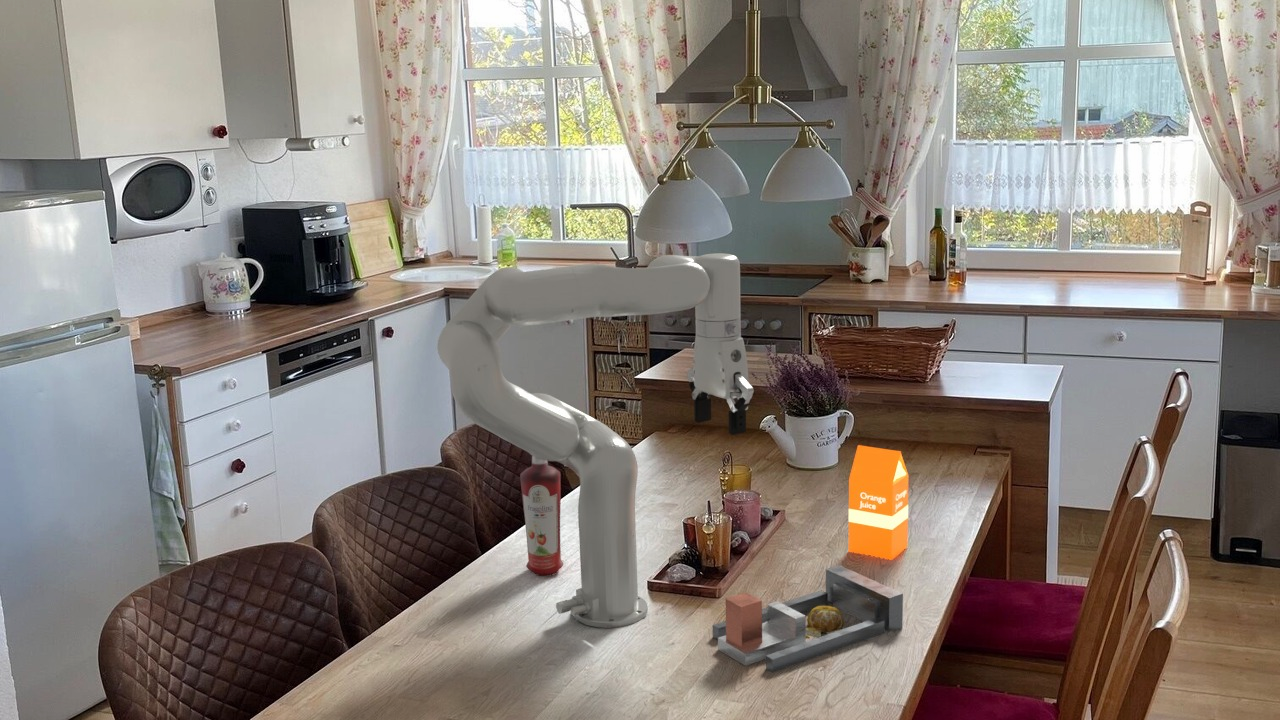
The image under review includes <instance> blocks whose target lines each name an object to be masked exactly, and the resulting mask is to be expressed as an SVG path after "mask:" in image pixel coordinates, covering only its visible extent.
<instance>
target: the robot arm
mask: <svg viewBox="0 0 1280 720" xmlns="http://www.w3.org/2000/svg"><path fill="white" fill-rule="evenodd" d="M740 264H741V262H740V260H739V258H738V257H737V256H736V255H734V254H730V253H723V252H722V253H706V254H702V255H698V256H697V255H696V256H695V255H679V254H678V255H677V254H665V255H660V256H659V257H656V258H655V259H653V260H652V261H651V262H650V263H649V264H648V265H647V267H634V268H633V267H620V266H619V267H618V266H611V265H605V264H599V263H598V264H597V263H596V264H595V263H586V264H577V265H570V266H563V267H555V268H553V267H552V268H547V269H536V270H529V271H523V270H522V269H520V268H517V267H513V266H508V267H507V266H506V267H501V268H499V269H497V270H495V271H494V272H492V273H491V274H490V275H489V276H488V277H487V278H486V279H485V280H484V281H483V282H482V283H481V284H480V285H479V286H478V288H477V289H476V290H475V291H474V292H473V293H472V294H471V296H470V297H469V298H468V299H467V300H466V301H465V302H464V303H463V304H462V306H461V307H460V308H459V309H458V310H457V312H456V313H454V315H453V316H452V317H451V318H450V320H449V321H448V322H447V323H446V324H445V326H444V327H443V328H442V330H441V332H440V334H439V336H438V339H437V344H436V345H437V346H436V347H437V353H438V356H439V359H440V360H441V362H442V364H444V366H445V367H446V368H447V369H448V371H449V380H450V381H449V382H450V388H451V394H452V396H453V399H454V402H455V403H456V406H457V407H458V409H459V411H460V412H461V413H462V414H463V415H464V417H466V418H467V419H468V420H470V421H471V422H472V423H474V424H475V425H477V426H478V427H480V428H483V429H485V430H486V431H488V432H490V433H492V434H494V435H495V436H497V437H499V438H500V439H502V440H504V441H505V442H508V443H510V444H512V445H514V446H515V447H517V448H519V449H521V450H523V451H525V452H527V453H528V454H530V455H531V456H532V455H533V456H535V457H536V458H539V459H542V460H545V461H548V462H558V464H559V463H560V464H562V465H564V466H565V467H567V468H569V469H571V470H572V471H573V472H574V473H575V474H576V475H577V476H578V477H579V478H578V479H579V496H578V507H577V513H578V514H577V518H578V521H577V523H578V536H579V537H578V538H579V556H580V559H579V560H580V563H579V564H580V581H581V582H580V583H581V584H580V585H581V588H576V589H575V595H573V596H572V598H571V599H565V600H561V601H557V602H556V603H555V608H556V611H557V613H558V614H560V615H561V614H565V613H568V612H570V613H571V615H572V616H574V618H575V619H576V620H577V622H580V623H581V624H584V625H586V626H590V627H595V628H604V629H605V628H606V629H607V628H610V629H612V628H620V627H625V626H628V625H633V624H635V623H637V622H639V621H641V620H643V619H644V618H645V617H646V616H647V614H648V608H649V607H648V603H647V602H646V600H645V599H644V598H643V597H640V596H639V592H638V591H639V589H638V588H639V587H638V562H637V561H638V560H637V558H638V557H637V533H636V532H637V531H636V525H637V524H636V493H637V492H636V490H637V485H638V484H637V483H638V473H639V472H638V471H639V470H638V460H637V457H636V454H635V453H634V450H633V449H632V447H631V446H630V444H629V443H628V442H627V441H626V440H625V439H624V438H623V437H621V436H620V435H619V434H618V433H617V432H615V431H614V430H613V429H611V428H610V427H609V426H607V425H606V424H605V423H603V422H601V421H599V420H598V419H596V418H594V417H592V416H590V415H589V414H586V413H585V412H583V411H580V410H579V409H577V408H575V407H573V406H572V405H569V404H568V403H566V402H564V401H561V400H560V399H558V398H556V397H555V396H553V395H550V394H548V393H543V392H542V393H541V392H539V393H538V392H534V393H530V392H529V391H527V390H525V389H524V388H522V387H521V386H518V385H516V384H515V383H512V382H510V381H508V380H507V379H506V378H505V376H504V374H503V372H502V355H501V353H502V352H501V349H500V346H499V345H498V342H499V340H500V339H502V337H503V336H504V335H505V334H506V333H507V332H508V330H509V329H510V328H511V326H514V327H527V326H528V327H530V326H535V325H536V326H537V325H543V324H550V323H558V322H565V321H572V320H573V321H574V320H582V319H589V318H598V317H599V318H600V317H603V318H604V317H606V318H608V317H609V318H610V317H611V318H612V317H623V316H648V315H657V314H659V315H660V314H665V313H672V312H673V313H674V312H679V311H686V310H690V309H692V308H693V309H695V311H694V312H695V313H694V314H695V339H694V347H693V362H692V364H693V365H692V368H690V369H688V370H687V371H686V376H687V380H688V382H689V384H688V386H689V389H690V390H691V392H692V393H691V397H692V400H693V406H694V408H693V410H694V415H693V416H694V422H695V423H698V424H699V423H703V422H708V421H711V419H712V398H711V397H710V395H711V396H714V397H718V398H721V399H724V400H725V401H726V402H727V404H728V406H729V408H730V411H728V434H729V435H731V436H734V435H740V434H743V433H745V432H747V416H746V415H747V413H746V412H747V410H748V409H749V405H750V404H751V403H752V398H753V394H754V392H755V390H754V389H755V388H754V387H753V386H752V385H751V384H750V383H749V370H748V369H749V368H748V359H747V351H746V346H745V342H744V338H743V337H742V333H741V332H742V329H741V328H742V325H741V324H742V323H741V322H742V321H741V265H740ZM735 399H737V400H736V401H735Z"/></svg>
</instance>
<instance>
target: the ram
mask: <svg viewBox="0 0 1280 720" xmlns="http://www.w3.org/2000/svg"><path fill="white" fill-rule="evenodd" d="M782 603H783V602H780V601H777V600H776V601H773V602H771V603H767V607H768V622H765V623H762V609H763V601H762V600H761V599H760V598H759V597H756V596H755V595H753V594H750V593H749V592H742V593H739V594H735V595H733V596H730V597H726V598H725V621H726V635H725V636H722V637H719V638H718V640H717V650H718V651H720V652H722V653H723V654H725V655H726V656H727V657H730V658H732V659H733V660H735V661H737V662H738V663H740V664H742V665H743V666H745V667H747V666H749V665H752V664H756V663H758V662H762V661H763V660H766V656H767V655H769V654H772V653H775V652H778V651H781V650H784V649H787V648H790V647H793V646H796V645H798V644H801V643H804V642H807V641H806V640H807V638H806V636H807V635H806V628H807V625H806V623H807V622H806V621H807V620H806V615H805V614H804V613H802V614H801V613H799V612H797V611H796V610H794V609H792V608H790V607H788V606H786V605H784V604H782Z"/></svg>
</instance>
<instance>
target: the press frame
mask: <svg viewBox="0 0 1280 720" xmlns="http://www.w3.org/2000/svg"><path fill="white" fill-rule="evenodd" d="M781 603H782V604H784V605H786V606H788V607H790V608H792V609H794V610H796V611H797V612H799V613H801V614H805V613H808V612H810V611H811V610H812V609H813V608H815V607H817V606H829V605H828V604H829V603H830V604H832V605H833V606H832V607H835V608H837V609H838V610H839V611H842V612H844V613H846V614H848V615H851V616H852V617H853V618H856V619H858V620H860V621H862V622H860V623H857V624H854V625H851V626H849V627H845V628H843V629H842V628H841V630H839V631H836V632H833V633H830V634H827V633H826V634H824V635H821V637H817V638H813V639H810V640H807V641H806V642H804V643H801V644H798V645H796V646H793V647H790V648H787V649H784V650H781V651H778V652H775V653H772V654H769V655H767V656H766V659H765V669H766V670H767V671H769V672H771V673H776V672H778V671H781V670H784V669H786V668H790V667H792V666H795V665H798V664H801V663H804V662H806V661H809V660H812V659H815V658H818V657H821V656H824V655H826V654H829V653H832V652H835V651H838V650H840V649H843V648H846V647H849V646H852V645H854V644H857V643H860V642H863V641H867V640H869V639H871V638H874V637H877V636H880V635H883V634H885V631H887V632H890V631H898V630H902V629H903V619H904V618H903V617H904V616H903V615H904V614H903V611H904V609H903V608H904V607H903V606H904V605H903V604H904V593H902V592H901V591H898V590H897V589H894V588H891V587H890V586H887V585H884V584H882V583H881V582H878V581H876V580H874V579H871V578H869V577H867V576H865V575H862V574H860V573H858V572H855V571H854V570H851V569H850V568H846V567H844V566H842V565H840V564H839V565H835V566H831V567H829V568H826V569H825V591H824V590H818V591H816V592H811V593H809V594H805V595H802V596H799V597H796V598H793V599H789V600H787V601H783V602H781ZM765 622H768V606H767V607H765V608H762V623H765ZM725 635H726V620H724V621H720V622H718V623H714V624H712V638H714V640H716V641H718V638H719V637H722V636H725Z"/></svg>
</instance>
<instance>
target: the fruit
mask: <svg viewBox="0 0 1280 720" xmlns="http://www.w3.org/2000/svg"><path fill="white" fill-rule="evenodd" d="M806 621H807V625H808V627H806V639H810V636H813V637H817V638H819V637H822V633H823V634H825V633H826V635H827V634H830V633H833V632H836V631H839V630H842V628H843V627H844V618H843V614H842V613H841V610H840V609H838V608H835V607H833V606H830V605H826V606H817V607H815V608H813V609H812V610H811V611H809V613H808V615H807V620H806Z"/></svg>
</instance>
